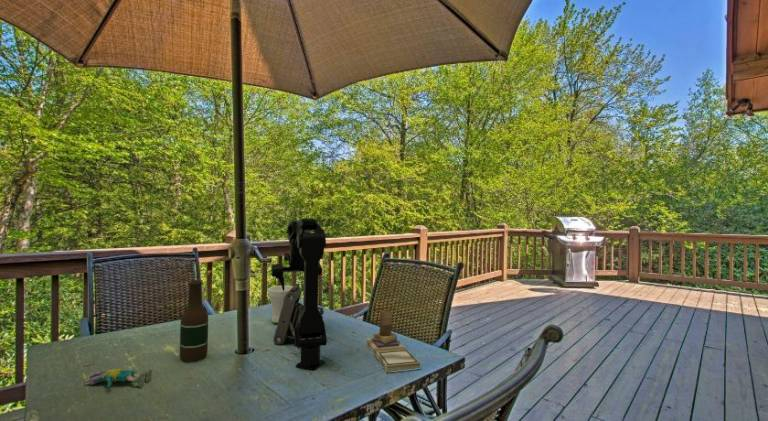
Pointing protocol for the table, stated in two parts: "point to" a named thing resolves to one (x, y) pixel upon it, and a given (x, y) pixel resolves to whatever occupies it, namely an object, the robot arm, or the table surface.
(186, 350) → the beer bottle
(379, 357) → the board
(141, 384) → the toy
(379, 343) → the ink pad
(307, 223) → the robot arm
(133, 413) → the table surface
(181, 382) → the table surface
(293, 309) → the camera
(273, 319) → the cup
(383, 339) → the stamp
